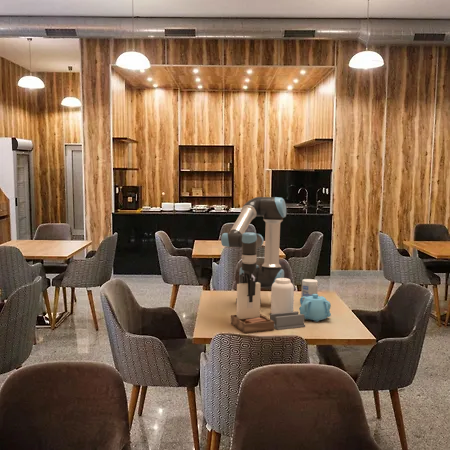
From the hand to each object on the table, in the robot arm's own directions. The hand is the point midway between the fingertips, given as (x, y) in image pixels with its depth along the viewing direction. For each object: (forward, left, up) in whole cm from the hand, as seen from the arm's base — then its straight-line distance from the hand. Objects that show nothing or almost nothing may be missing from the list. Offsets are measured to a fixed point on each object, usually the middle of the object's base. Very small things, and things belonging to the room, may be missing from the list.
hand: (248, 307), depth 271 cm
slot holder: (+9, +18, -9) cm, 22 cm away
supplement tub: (-27, +53, -9) cm, 60 cm away
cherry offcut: (+9, 0, -6) cm, 11 cm away
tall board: (0, 0, -6) cm, 6 cm away
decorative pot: (+2, +39, -9) cm, 40 cm away
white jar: (-13, +27, -9) cm, 31 cm away
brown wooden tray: (+5, 0, -9) cm, 10 cm away
